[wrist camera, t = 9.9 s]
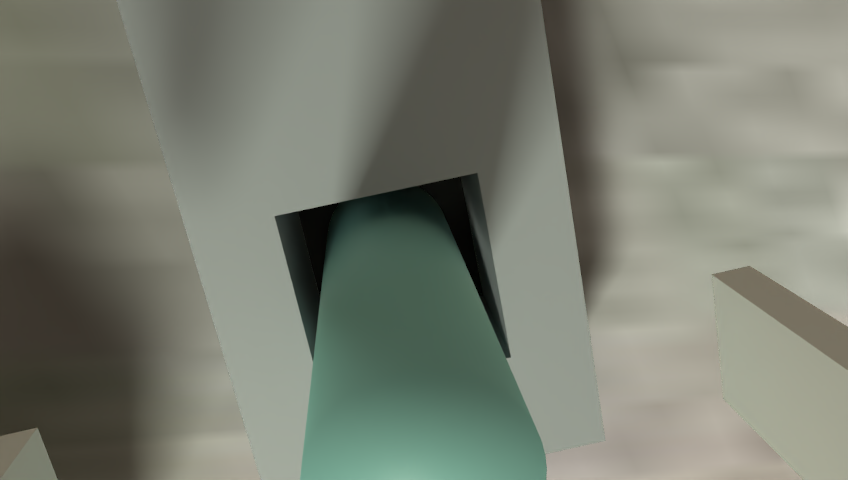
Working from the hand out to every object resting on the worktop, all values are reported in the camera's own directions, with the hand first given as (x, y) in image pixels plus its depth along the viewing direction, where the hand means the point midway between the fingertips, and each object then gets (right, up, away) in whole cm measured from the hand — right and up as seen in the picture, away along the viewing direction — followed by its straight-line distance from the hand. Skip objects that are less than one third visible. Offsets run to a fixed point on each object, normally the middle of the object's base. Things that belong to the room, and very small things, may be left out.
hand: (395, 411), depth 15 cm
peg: (-1, +3, +11) cm, 12 cm away
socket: (-1, +5, +10) cm, 12 cm away
